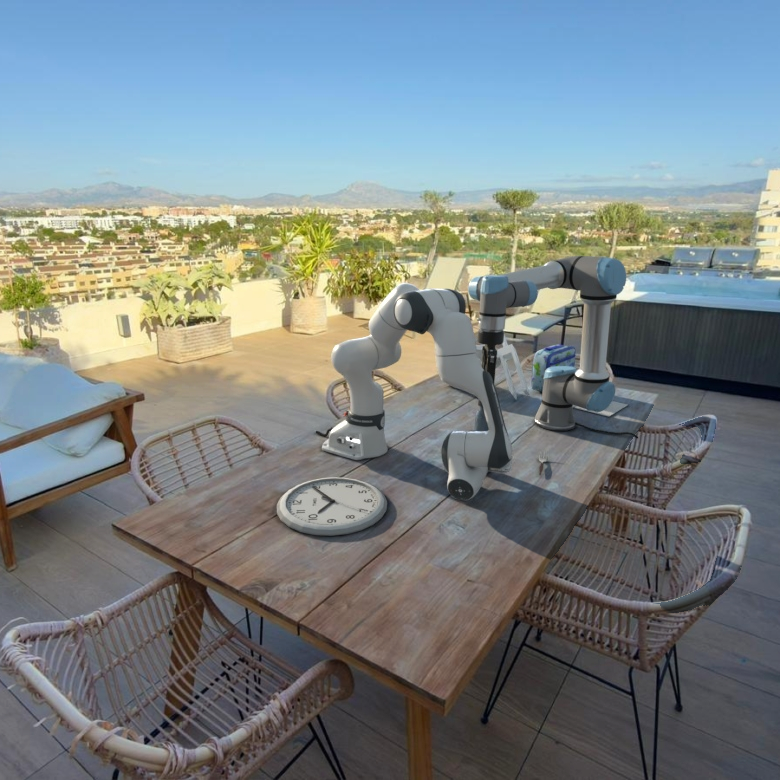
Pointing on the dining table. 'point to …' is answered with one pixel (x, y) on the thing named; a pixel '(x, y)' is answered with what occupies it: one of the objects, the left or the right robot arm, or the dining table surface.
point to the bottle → (481, 421)
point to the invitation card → (608, 409)
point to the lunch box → (550, 362)
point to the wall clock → (331, 506)
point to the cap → (479, 402)
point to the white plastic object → (502, 357)
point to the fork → (542, 461)
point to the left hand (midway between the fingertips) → (482, 448)
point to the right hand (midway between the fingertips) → (485, 405)
